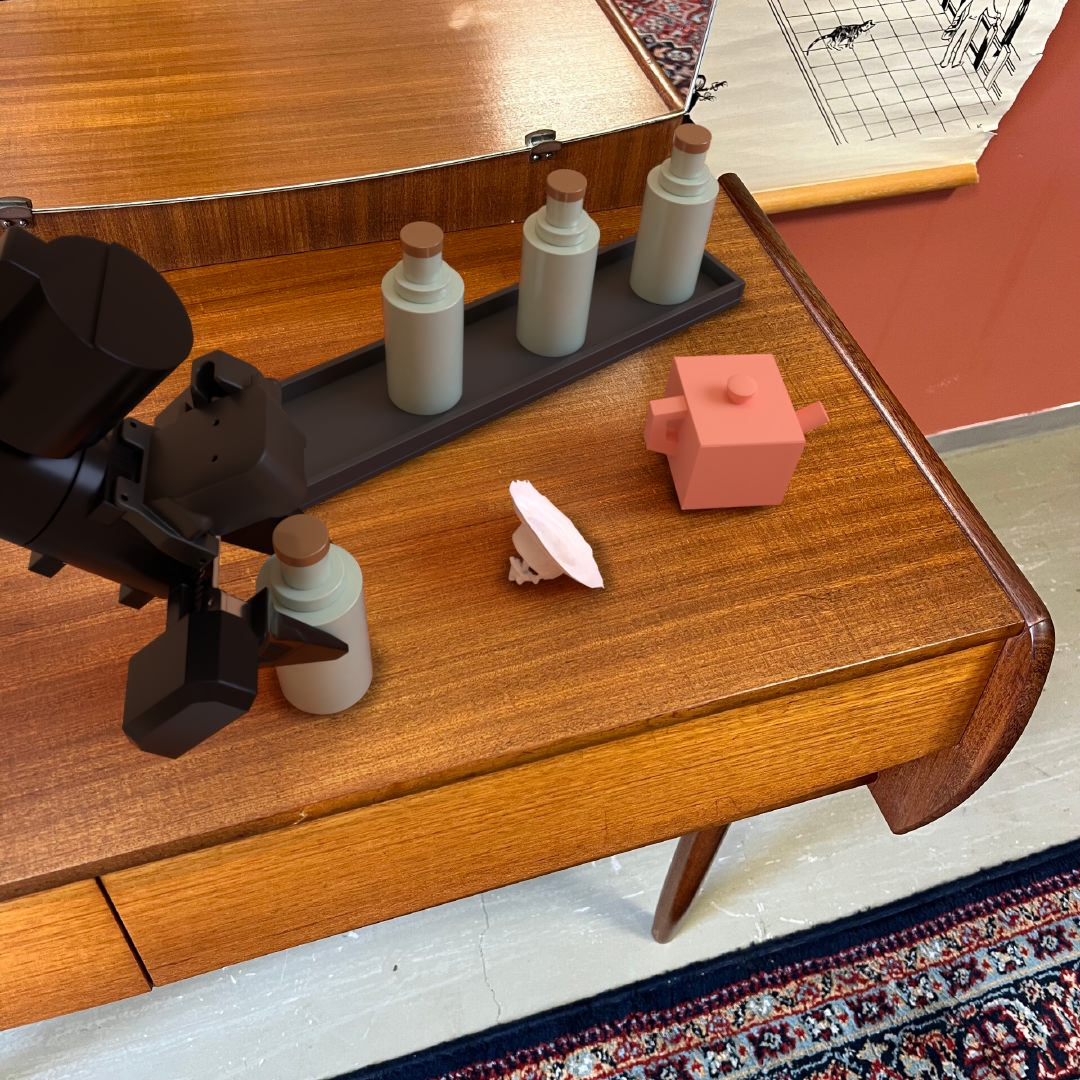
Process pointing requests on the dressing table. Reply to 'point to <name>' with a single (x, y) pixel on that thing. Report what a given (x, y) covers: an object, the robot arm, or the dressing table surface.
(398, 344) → the bottle near
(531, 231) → the bottle middle
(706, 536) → the dressing table surface
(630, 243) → the tray
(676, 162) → the bottle far
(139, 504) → the robot arm
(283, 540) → the bottle
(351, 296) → the dressing table surface
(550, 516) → the pale pink ornate lid
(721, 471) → the pink cube teapot
